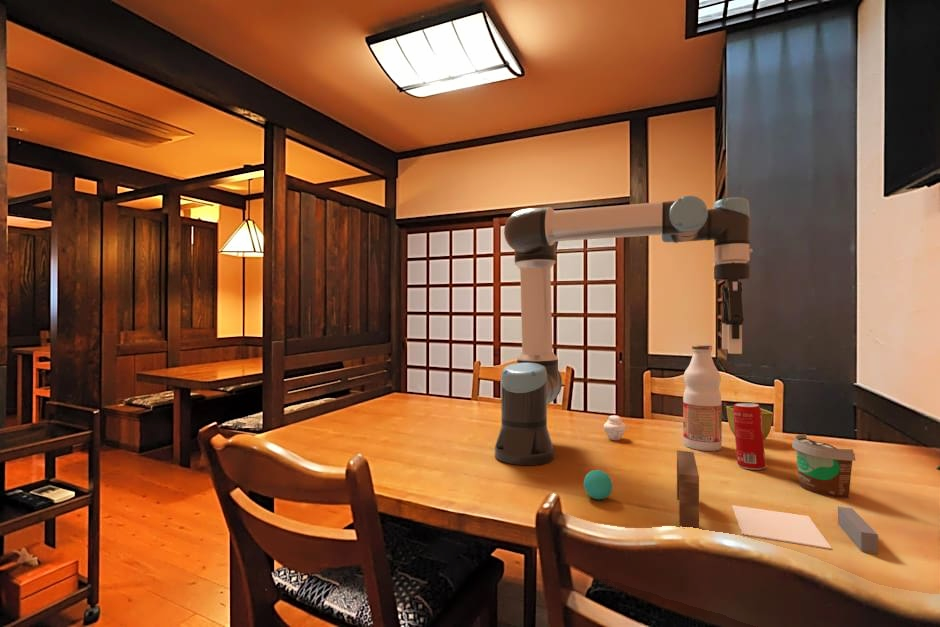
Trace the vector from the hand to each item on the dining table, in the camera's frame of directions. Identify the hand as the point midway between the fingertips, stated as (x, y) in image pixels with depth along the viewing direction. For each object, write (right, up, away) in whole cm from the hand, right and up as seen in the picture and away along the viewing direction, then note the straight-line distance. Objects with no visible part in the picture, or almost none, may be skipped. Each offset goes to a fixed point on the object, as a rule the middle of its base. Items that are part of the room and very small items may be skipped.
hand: (731, 351), depth 109 cm
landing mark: (-10, -28, -31) cm, 43 cm away
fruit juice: (+1, -28, +15) cm, 32 cm away
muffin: (-21, -28, +23) cm, 42 cm away
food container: (+9, -28, -15) cm, 33 cm away
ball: (-38, -25, -19) cm, 49 cm away
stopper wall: (0, -28, -35) cm, 45 cm away
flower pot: (+17, -28, +21) cm, 39 cm away
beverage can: (+4, -28, -1) cm, 28 cm away
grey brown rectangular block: (-23, -28, -26) cm, 44 cm away
